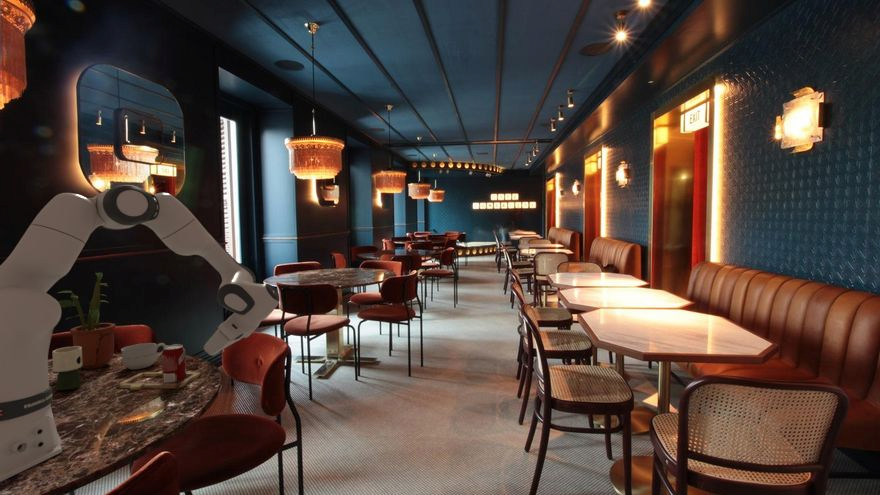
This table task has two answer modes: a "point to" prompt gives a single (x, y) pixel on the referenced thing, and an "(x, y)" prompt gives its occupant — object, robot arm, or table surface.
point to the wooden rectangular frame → (139, 386)
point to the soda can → (173, 364)
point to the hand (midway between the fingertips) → (213, 353)
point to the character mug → (67, 367)
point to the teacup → (140, 355)
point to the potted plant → (92, 331)
